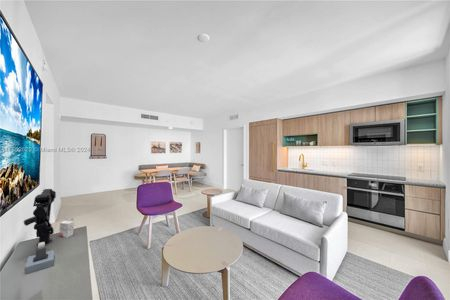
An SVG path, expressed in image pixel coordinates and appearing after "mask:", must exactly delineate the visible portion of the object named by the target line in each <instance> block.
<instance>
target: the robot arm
mask: <svg viewBox="0 0 450 300" xmlns="http://www.w3.org/2000/svg"><path fill="white" fill-rule="evenodd" d="M56 197H57V193H56V191H55V190H53V188H45V189H43V190H42V192H41V193H40V194H37V195H36V196H35V197H34V202H33V207H35V209H34V210H33V212H32V215H33V216H32V217H30V218H26V219H24V220H23V225H24V226H26V227H27V226H30V225H31V224H33V223H34V225H33V229H34V230H36V231H35V235H36V238H38V243H36V244H35V245H36V246H38V244H39V243H41V242H45V245H48V244H49V243H51V242H52V240H53V239H51V235H53V234H55V233H54V231H55V230H54V228H53V226H52V223H51V222H50V219H51V210H52V204H53V203H54V201H55V199H56Z"/></svg>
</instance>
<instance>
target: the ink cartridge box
mask: <svg viewBox="0 0 450 300" xmlns="http://www.w3.org/2000/svg"><path fill="white" fill-rule="evenodd" d="M74 223H75V221H74V217H67V216H66V217H65V218H64V221H61V222H59V234H58V236H59V237H61V236H63V237H64V238H69V237H71V236H73V235H74V226H75V224H74ZM63 237H62V238H63Z"/></svg>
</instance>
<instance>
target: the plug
mask: <svg viewBox="0 0 450 300" xmlns="http://www.w3.org/2000/svg"><path fill="white" fill-rule="evenodd" d="M38 243H39V242H38ZM38 243H37V244H38ZM47 245H48V244H45V242H41V243H39V244H38V245H37V247H36V249H35V255H36V258H35V262H36V261H40V260H44V259H46V252H47Z"/></svg>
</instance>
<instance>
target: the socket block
mask: <svg viewBox="0 0 450 300" xmlns="http://www.w3.org/2000/svg"><path fill="white" fill-rule="evenodd" d="M35 258H36V254H33V255H29V256H27V260H26V262H25V266H24V275H27V274H30V273H34V272H37V271H40V270H43V269H47V268H50V267H54V259H55V250H54V249H52V250H48V251H46V259H44V260H40V261H36V262H35Z"/></svg>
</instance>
